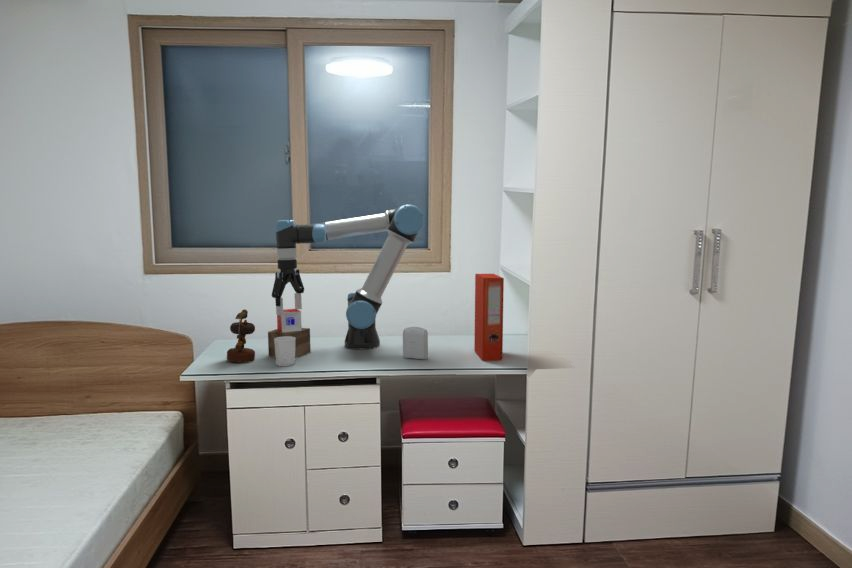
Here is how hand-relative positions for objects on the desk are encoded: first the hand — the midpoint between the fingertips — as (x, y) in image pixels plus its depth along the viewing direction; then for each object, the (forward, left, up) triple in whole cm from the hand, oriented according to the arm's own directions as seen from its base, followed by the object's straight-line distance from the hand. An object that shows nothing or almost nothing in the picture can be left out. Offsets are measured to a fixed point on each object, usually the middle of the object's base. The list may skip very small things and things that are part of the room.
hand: (289, 311), depth 257 cm
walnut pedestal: (0, 0, -18) cm, 18 cm away
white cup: (-7, +15, -18) cm, 24 cm away
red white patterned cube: (0, 0, -8) cm, 8 cm away
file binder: (-76, -23, -18) cm, 82 cm away
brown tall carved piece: (+13, +15, -18) cm, 26 cm away
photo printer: (-50, -10, -18) cm, 54 cm away
